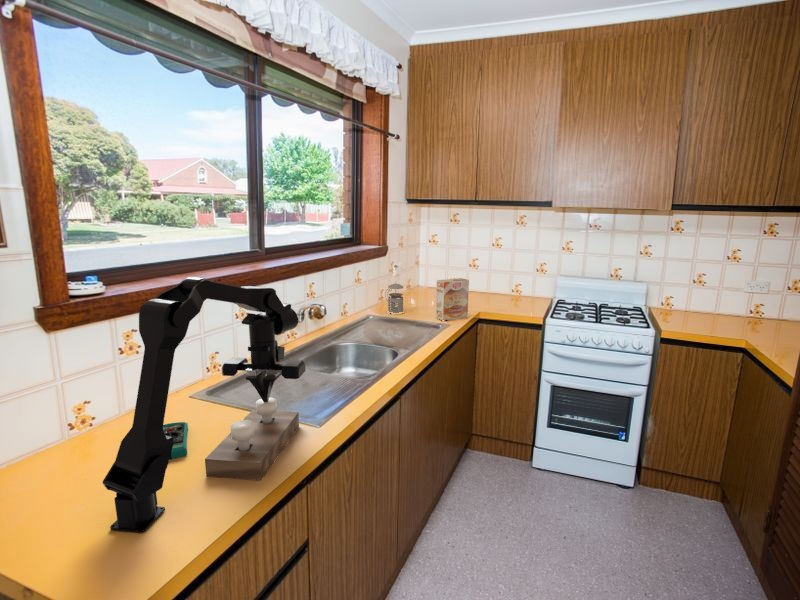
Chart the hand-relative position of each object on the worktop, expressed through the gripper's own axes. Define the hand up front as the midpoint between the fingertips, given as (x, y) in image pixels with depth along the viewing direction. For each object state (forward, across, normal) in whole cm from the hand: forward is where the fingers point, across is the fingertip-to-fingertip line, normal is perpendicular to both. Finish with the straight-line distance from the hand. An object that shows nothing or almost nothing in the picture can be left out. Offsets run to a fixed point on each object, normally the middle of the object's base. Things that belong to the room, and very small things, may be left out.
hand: (266, 401), depth 114 cm
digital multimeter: (+10, +21, +7) cm, 24 cm away
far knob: (+7, 0, 0) cm, 7 cm away
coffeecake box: (+9, -44, -126) cm, 134 cm away
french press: (+9, -14, -136) cm, 137 cm away
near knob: (+6, 0, +13) cm, 15 cm away
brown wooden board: (+9, 0, +6) cm, 11 cm away
